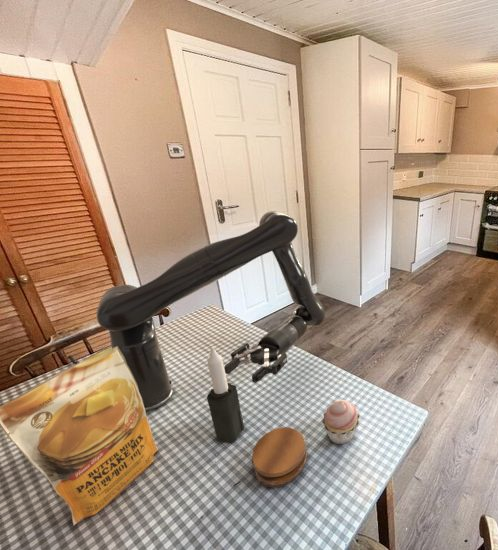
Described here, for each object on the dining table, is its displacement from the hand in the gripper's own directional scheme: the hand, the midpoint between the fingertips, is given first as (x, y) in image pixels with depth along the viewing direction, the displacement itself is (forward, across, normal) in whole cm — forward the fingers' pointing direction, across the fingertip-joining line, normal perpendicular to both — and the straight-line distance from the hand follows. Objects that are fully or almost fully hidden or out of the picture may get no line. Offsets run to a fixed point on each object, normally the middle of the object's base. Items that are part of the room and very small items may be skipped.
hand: (239, 375), depth 74 cm
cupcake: (-4, +25, +13) cm, 29 cm away
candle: (+6, 0, +13) cm, 14 cm away
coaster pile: (+8, +16, +13) cm, 22 cm away
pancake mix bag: (+24, -13, +13) cm, 30 cm away
